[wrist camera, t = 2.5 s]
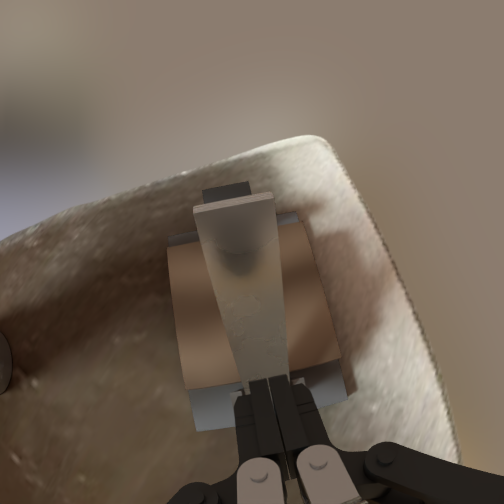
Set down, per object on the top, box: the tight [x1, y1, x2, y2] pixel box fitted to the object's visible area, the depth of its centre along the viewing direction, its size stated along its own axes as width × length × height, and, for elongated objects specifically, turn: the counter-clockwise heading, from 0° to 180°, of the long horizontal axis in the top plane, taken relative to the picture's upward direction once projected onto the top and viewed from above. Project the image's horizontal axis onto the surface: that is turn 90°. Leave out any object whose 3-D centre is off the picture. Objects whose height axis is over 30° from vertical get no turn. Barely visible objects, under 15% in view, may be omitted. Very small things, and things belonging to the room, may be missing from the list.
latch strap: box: [193, 192, 290, 403], centre depth 16 cm, size 16×3×1 cm
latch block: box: [167, 181, 348, 431], centre depth 26 cm, size 20×14×9 cm
